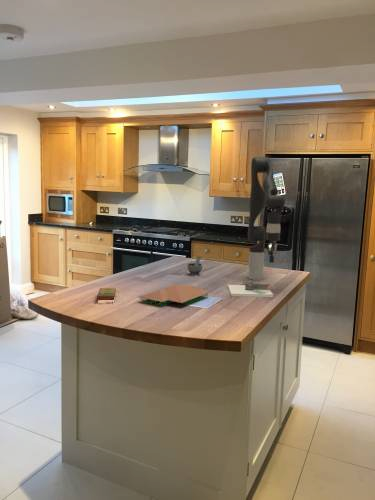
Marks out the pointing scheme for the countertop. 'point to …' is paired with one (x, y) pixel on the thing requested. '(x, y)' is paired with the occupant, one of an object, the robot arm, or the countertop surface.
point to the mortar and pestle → (195, 267)
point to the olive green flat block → (106, 294)
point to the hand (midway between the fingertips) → (271, 262)
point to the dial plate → (248, 292)
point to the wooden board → (176, 294)
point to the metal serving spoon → (256, 286)
